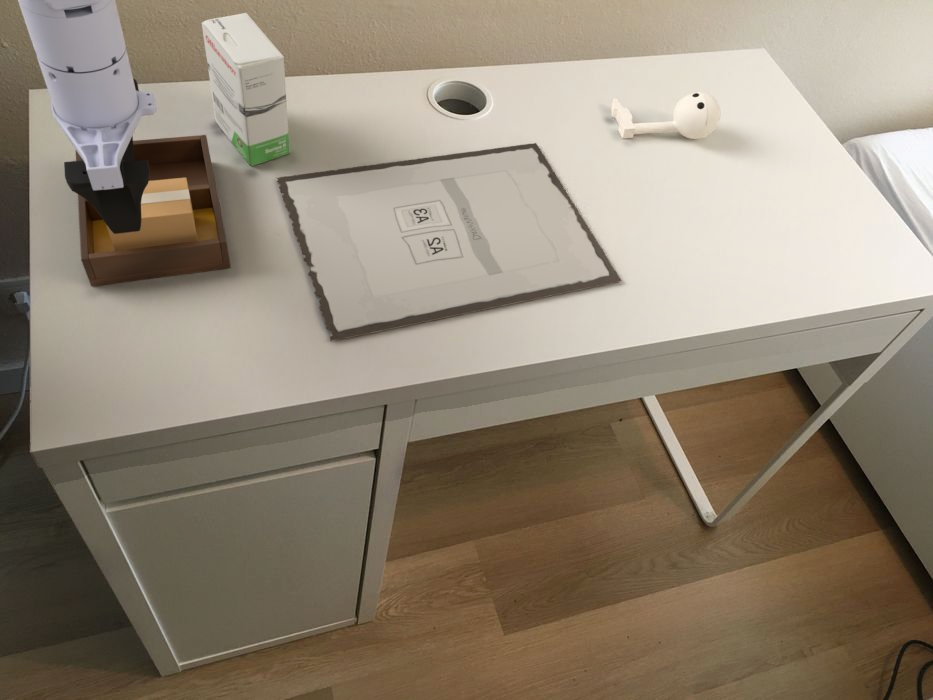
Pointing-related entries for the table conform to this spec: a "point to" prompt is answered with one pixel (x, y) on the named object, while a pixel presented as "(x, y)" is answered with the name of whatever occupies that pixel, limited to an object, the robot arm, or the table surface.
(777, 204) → the table surface
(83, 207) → the tray
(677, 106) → the figurine
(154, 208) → the parcel
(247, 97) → the ink box
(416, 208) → the picture frame
